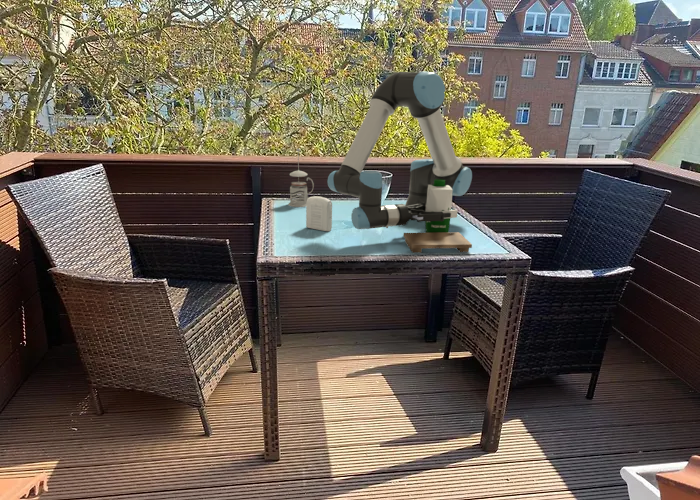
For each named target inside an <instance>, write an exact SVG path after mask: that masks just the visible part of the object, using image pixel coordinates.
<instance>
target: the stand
mask: <svg viewBox="0 0 700 500" xmlns="http://www.w3.org/2000/svg"><path fill="white" fill-rule="evenodd" d="M402 235H403V238H404V242H405V243H406V246H407V247H408V248H409V250H410V251H411V253H412V254H413V253H414V254H416V253H417V254H421V253H423V252H422V250H423V249H456V250H457V251H458V252H459V253H469V252H470V251H469V250H470V249H472V248H473V244H472V243H471V242H470V241H469V240H468V239H467V238H466V237H464V236H463V234H461V233H460V231H459V232H458V231H456V232H453V231H451V232H450V231H448V232H437V233H426V232H403V234H402Z"/></svg>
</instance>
